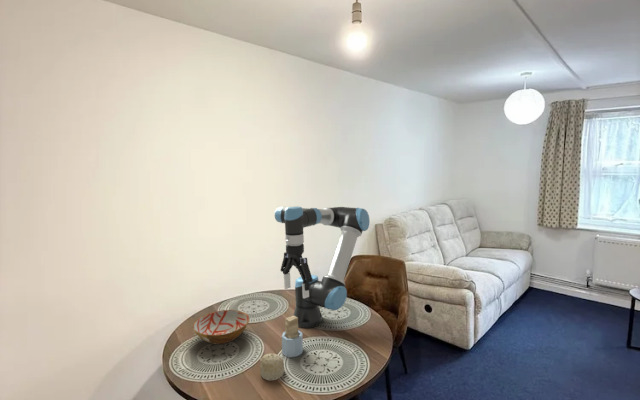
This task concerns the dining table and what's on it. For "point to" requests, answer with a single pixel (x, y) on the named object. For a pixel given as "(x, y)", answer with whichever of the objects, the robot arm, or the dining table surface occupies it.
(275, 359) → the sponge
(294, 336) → the tan bar
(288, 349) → the jar
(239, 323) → the bowl
